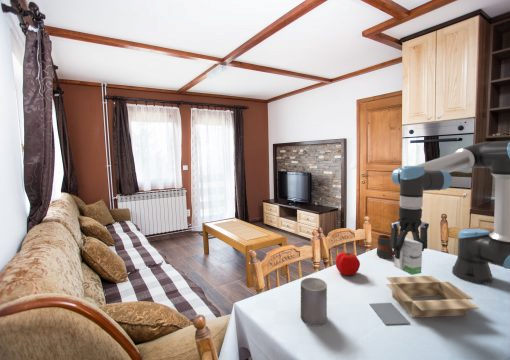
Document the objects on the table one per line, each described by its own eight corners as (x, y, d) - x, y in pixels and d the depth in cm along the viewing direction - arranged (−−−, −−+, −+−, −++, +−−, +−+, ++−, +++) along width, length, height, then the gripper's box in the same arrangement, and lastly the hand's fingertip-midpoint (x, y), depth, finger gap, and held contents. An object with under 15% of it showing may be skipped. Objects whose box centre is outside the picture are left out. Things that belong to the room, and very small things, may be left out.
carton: (437, 288, 121) (438, 275, 120) (486, 323, 97) (487, 307, 96) (379, 290, 120) (379, 277, 120) (413, 326, 96) (413, 310, 95)
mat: (391, 303, 110) (391, 302, 110) (410, 324, 97) (410, 322, 97) (369, 304, 110) (369, 303, 110) (385, 325, 97) (385, 324, 97)
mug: (390, 262, 149) (391, 242, 148) (373, 255, 160) (373, 235, 159) (401, 259, 153) (402, 239, 151) (383, 252, 164) (384, 233, 162)
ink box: (422, 273, 100) (423, 242, 99) (411, 275, 99) (412, 244, 98) (403, 264, 109) (405, 235, 107) (393, 265, 107) (394, 237, 106)
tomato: (331, 274, 137) (331, 253, 136) (340, 266, 146) (340, 246, 145) (354, 281, 130) (355, 258, 128) (363, 272, 138) (363, 251, 137)
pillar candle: (299, 310, 107) (298, 274, 106) (323, 309, 107) (323, 274, 105) (302, 326, 98) (302, 287, 96) (329, 326, 97) (330, 286, 96)
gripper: (428, 204, 105) (424, 261, 108) (380, 205, 105) (378, 262, 107) (442, 208, 98) (438, 270, 100) (391, 209, 97) (388, 271, 100)
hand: (407, 266), depth 104 cm, fingers closed on ink box, 6 cm apart
